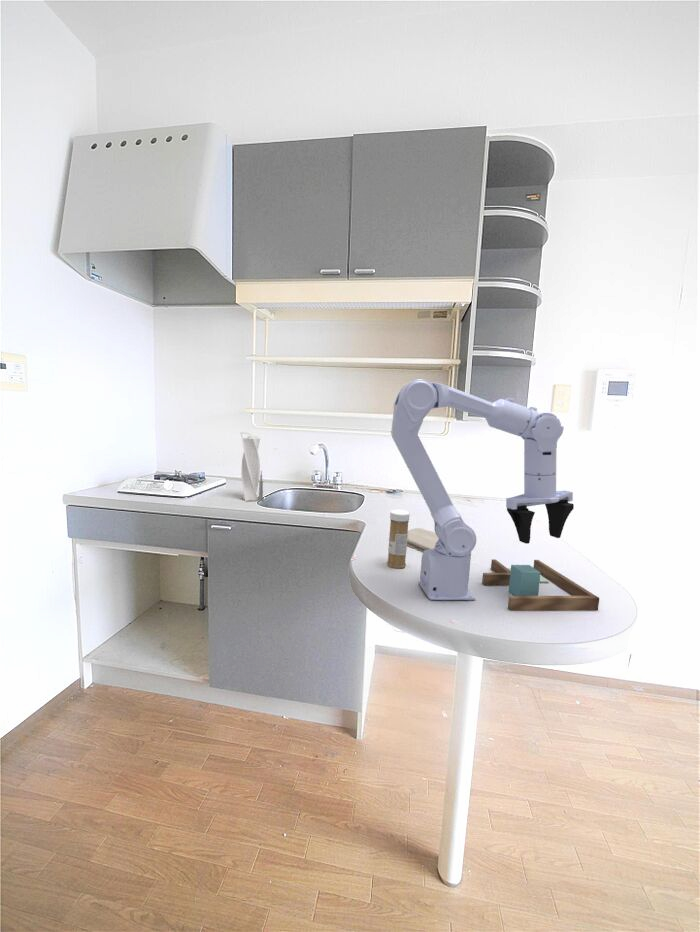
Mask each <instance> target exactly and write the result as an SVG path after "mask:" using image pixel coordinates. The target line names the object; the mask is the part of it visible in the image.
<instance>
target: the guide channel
mask: <svg viewBox="0 0 700 932" xmlns="http://www.w3.org/2000/svg"><path fill="white" fill-rule="evenodd" d="M490 563H491V564H490V570H491V571H492V572H482V581H481V584H482V585H483V586H509V582H510V573H511V571H510V570H509V569H507V568H508V567H507V566H505V565H503V564H502V563H501V562H500V561H498V560H497V559H491V562H490ZM532 567H533V568H535V569H536V570H538V571H539V572H541V574H540V576H541V577H543V578H544V579H546V580H547V581H549V582H551V583H552V584H554V585H555V586H557V587H558V588H560V590H562V591H564V592H566V593H567V594H568V595H538V596H513V595H509V596H508V600H507V601H508V602H507V609H508V610H509V611H510V612H522V611H523V612H524V611H528V612H529V611H530V612H535V611H536V612H537V611H538V612H540V611H542V612H544V611H546V612H547V611H550V612H551V611H562V612H563V611H598V610H599V607H600V606H599V604H600V597H599V596H597V595H595V594H594V593H592V592H590V591H589V590H587V589H586V588H585V587H582V586H581V585H579V584H578V583H576V582H575V581H573V580H572V579H570V578H568V577H566V576H565V575H563V574H562V573H560V572H558V571H557V570H555V569H554V568H552V567H550V566H549V565H547V564H546V563H544V562H542V561H540V559H534V560H533V566H532Z"/></svg>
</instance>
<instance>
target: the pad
mask: <svg viewBox="0 0 700 932" xmlns="http://www.w3.org/2000/svg"><path fill="white" fill-rule="evenodd" d="M506 568H507V569H509V570H510V571H511V567H506ZM549 582H550V581H549V580H548V579H546V578H545V577H543V576H542V575H540V583H539V584H549Z"/></svg>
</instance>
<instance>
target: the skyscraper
mask: <svg viewBox="0 0 700 932" xmlns="http://www.w3.org/2000/svg"><path fill="white" fill-rule="evenodd" d="M243 434H246V435H247V437H244V436H243ZM240 436H241V441H242V447H243V455H242V458H241V459H242V460H241V482H242V483H241V485H242V490H243V495H242V497H241V500H243V501H245V502H246V503H253V502H255V503H256V502H264V501H265V500H264V497H263V496H264V494H263V493H264V490H263V489H264V487H263V486H264V481H263V475H262V471H263V470H261V463H260V455H259V452H258V450H259V446H260V442H261V441H260V440H261V437H259V436H256V435H253V434H251V433H250V432H246V431H242V432H240ZM258 488H259V489H258ZM257 491H258V492H257ZM257 493H258V494H257Z"/></svg>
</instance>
